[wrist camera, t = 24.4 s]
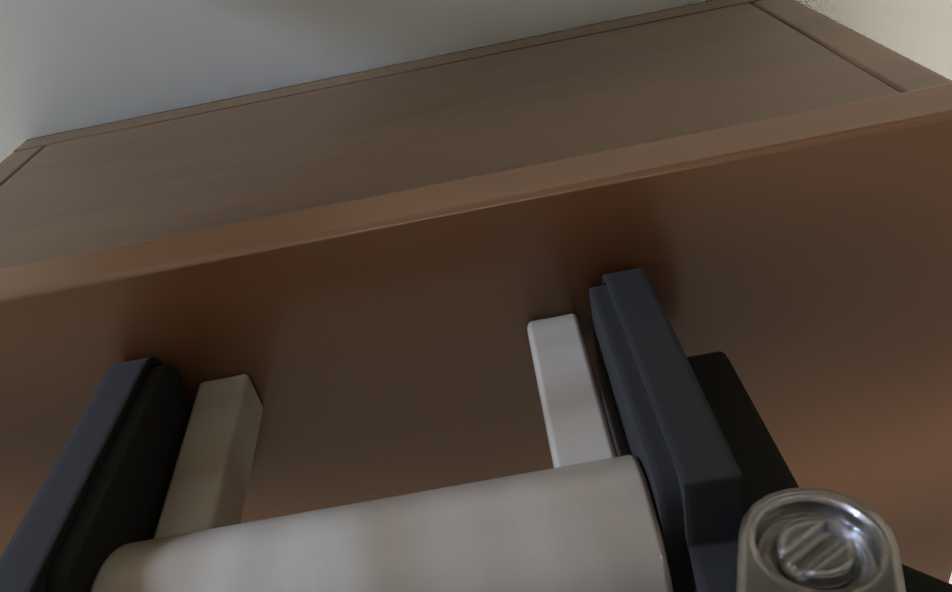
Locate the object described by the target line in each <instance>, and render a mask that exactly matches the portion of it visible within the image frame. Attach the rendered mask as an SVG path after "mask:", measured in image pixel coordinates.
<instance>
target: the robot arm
mask: <svg viewBox="0 0 952 592" xmlns="http://www.w3.org/2000/svg"><path fill="white" fill-rule="evenodd" d="M602 283H603V286H598V287H592V288H589V296H590V305H591V312H592V320H593V328H594V336H595V344H596V352H597V359H598V367H599V375H600V383H601V391H602V399H603V406H604V410H605V413H606V417H607V420H608V424H609V427H610V431H611V434H612V438H613V442H614V445H615V449H616V452H617V456H618V457H619V456H624V455H632V456H635V457H636V458H637V460H638V462H639V463H640V465H641V467H642V469H643V471H644V473H645V476H646V479H647V482H648V485H649V488H650V491H651V494H652V497H653V501H654V504H655V508H656V512H657V516H658V519H659V523H660V528H661V532H662V536H663V540H664V545H665V549H666V554H667V559H668V564H669V569H670V574H671V580H672V586H673V592H952V585H951V584H949V583H947V582H944V581H942V580H939V579H937V578H935V577H932V576H930V575H927V574H925V573H923V572H920V571H918V570H915V569H913V568H911V567H908V566H906V565H903V564H902V563H901V557H900V551H899V547H898V545H897V542H896V539H895V537H894V534H893V531H892V530H891V529H890V527H889V526H888V525H887V524H886V523H885V521H884V520H883V519H882V518H881V517H880V516H879V514H877V513H876V512H875V511H873V510H872V509H870V508H869V507H867V506H866V505H865V504H863V503H862V502H860V501H859V500H856V499H854V498H851V497H849V496H846V495H844V494H841V493H839V492H836V491H830V490H825V489H819V488H814V487H809V488H799V486H798V484H797V482H796V480H795V479H794V477H793V475H792V473H791V471H790V470H789V468H788V466H787V464H786V462H785V460H784V459H783V457H782V455H781V453H780V451H779V449H778V448H777V446H776V444H775V442H774V440H773V439H772V437H771V435H770V433H769V431H768V429H767V428H766V426H765V424H764V422H763V420H762V418H761V417H760V415H759V413H758V411H757V409H756V408H755V406H754V404H753V402H752V400H751V398H750V397H749V395H748V393H747V391H746V389H745V387H744V386H743V384H742V382H741V380H740V378H739V377H738V375H737V373H736V371H735V369H734V367H733V366H732V364H731V362H730V360H729V359H728V357H727V356H726V354H725V353H723V352H721V351H719V352H713V353H707V354H702V355H696V356H690V357H686V355H685V353H684V351H683V349H682V346H681V344H680V342H679V340H678V338H677V336H676V334H675V332H674V330H673V327H672V325H671V323H670V321H669V319H668V317H667V315H666V313H665V311H664V308H663V306H662V304H661V302H660V300H659V298H658V296H657V294H656V292H655V289H654V287H653V285H652V283H651V281H650V279H649V277H648V275H647V273H646V271H645V269H644V268H638V269H632V270H627V271H621V272H616V273H610V274H605V275H603V277H602ZM192 409H193V404H192V401H191V399H190V397H189V395H188V393H187V390H186V388H185V386H184V384H183V382H182V380H181V377H180V375H179V373H178V371H177V370H176V368H175V367H174V366H173V365H170V364H168V365H163V363H162V362H161V361H160V360H159V359H158V358H156V357H149V358H144V359H138V360H133V361H127V362H122V363H116V364H113V365H111V366H110V368H109V369H108V370H107V372H106V374H105V375H104V377H103V379H102V381H101V382H100V384H99V386H98V388H97V389H96V391H95V393H94V395H93V396H92V398H91V400H90V402H89V404H88V405H87V407H86V409H85V411H84V412H83V414H82V416H81V418H80V419H79V421H78V423H77V425H76V426H75V428H74V430H73V432H72V433H71V435H70V437H69V439H68V440H67V442H66V444H65V446H64V447H63V449H62V451H61V453H60V454H59V456H58V458H57V460H56V461H55V463H54V465H53V467H52V468H51V470H50V472H49V474H48V475H47V477H46V479H45V481H44V482H43V484H42V486H41V488H40V489H39V491H38V493H37V495H36V496H35V498H34V500H33V502H32V503H31V505H30V507H29V509H28V511H27V512H26V514H25V516H24V518H23V519H22V521H21V523H20V525H19V526H18V528H17V530H16V532H15V533H14V535H13V537H12V539H11V540H10V542H9V544H8V546H7V547H6V549H5V551H4V553H3V554H2V556H1V558H0V592H90V591H91V588H92V585H93V582H94V580H95V577H96V575H97V573H98V571H99V569H100V567H101V565H102V564H103V562H104V561H105V559H106V558H107V557H108V556H109V555H110V554H111V553H112V552H114V551H115V550H116V549H118V548H119V547H121V546H123V545H125V544H127V543H133V542H139V541H144V540H150V539H154V535H155V532H156V529H157V525H158V522H159V519H160V515H161V512H162V509H163V505H164V502H165V499H166V495H167V492H168V489H169V485H170V482H171V479H172V475H173V472H174V469H175V465H176V462H177V459H178V455H179V452H180V449H181V445H182V442H183V439H184V435H185V432H186V429H187V425H188V422H189V419H190V415H191V412H192Z"/></svg>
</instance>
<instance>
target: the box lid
mask: <svg viewBox="0 0 952 592" xmlns="http://www.w3.org/2000/svg"><path fill="white" fill-rule="evenodd" d="M638 268H644V269H645V271H646V273H647V275H648V277H649V279H650V281H651V283H652V285H653V287H654V289H655V292H656V294H657V296H658V298H659V300H660V302H661V304H662V306H663V308H664V311H665V313H666V315H667V317H668V319H669V321H670V323H671V325H672V327H673V330H674V332H675V334H676V336H677V338H678V340H679V342H680V344H681V346H682V349H683V351H684V353H685V355H686V357H690V356H696V355H702V354H707V353H713V352H719V351H721V352H723V353H725V354H726V356H727V357H728V359H729V360H730V362H731V364H732V366H733V367H734V369H735V371H736V373H737V375H738V377H739V378H740V380H741V382H742V384H743V386H744V387H745V389H746V391H747V393H748V395H749V397H750V398H751V400H752V402H753V404H754V406H755V408H756V409H757V411H758V413H759V415H760V417H761V418H762V420H763V422H764V424H765V426H766V428H767V429H768V431H769V433H770V435H771V437H772V439H773V440H774V442H775V444H776V446H777V448H778V449H779V451H780V453H781V455H782V457H783V459H784V460H785V462H786V464H787V466H788V468H789V470H790V471H791V473H792V475H793V477H794V479H795V480H796V482H797V484H798V486H799V488H809V487H814V488H819V489H825V490H830V491H836V492H839V493H841V494H844V495H846V496H849V497H851V498H854V499H856V500H859V501H860V502H862V503H863V504H865V505H866V506H867V507H869V508H870V509H872V510H873V511H875V512H876V513H877V514H879V516H880V517H881V518H882V519H883V520H884V521H885V523H886V524H887V525H888V526H889V527H890V529H891V530H892V531H893V534H894V537H895V539H896V542H897V545H898V547H899V551H900V557H901V563H902V564H903V565H906V566H908V567H911V568H913V569H915V570H918V571H920V572H923V573H925V574H927V575H930V576H932V577H935V578H937V579H939V580H942V581H944V582H947V583H948V582H949V579H950V575H951V572H952V83H949V84H944V85H939V86H934V87H928V88H923V89H918V90H913V91H908V92H903V93H898V94H893V95H888V96H882V97H877V98H872V99H867V100H862V101H857V102H852V103H847V104H842V105H837V106H831V107H826V108H821V109H816V110H811V111H806V112H801V113H796V114H791V115H785V116H780V117H775V118H770V119H765V120H760V121H755V122H750V123H745V124H739V125H734V126H729V127H724V128H719V129H714V130H709V131H704V132H699V133H694V134H688V135H683V136H678V137H673V138H668V139H663V140H658V141H653V142H648V143H642V144H637V145H632V146H627V147H622V148H617V149H612V150H607V151H602V152H596V153H591V154H586V155H581V156H576V157H571V158H566V159H561V160H556V161H551V162H545V163H540V164H535V165H530V166H525V167H520V168H515V169H510V170H505V171H499V172H494V173H489V174H484V175H479V176H474V177H469V178H464V179H459V180H453V181H448V182H443V183H438V184H433V185H428V186H423V187H418V188H413V189H408V190H402V191H397V192H392V193H387V194H382V195H377V196H372V197H367V198H362V199H356V200H351V201H346V202H341V203H336V204H331V205H326V206H321V207H316V208H310V209H305V210H300V211H295V212H290V213H285V214H280V215H275V216H270V217H265V218H259V219H254V220H249V221H244V222H239V223H234V224H229V225H224V226H219V227H213V228H208V229H203V230H198V231H193V232H188V233H183V234H178V235H173V236H167V237H162V238H157V239H152V240H147V241H142V242H137V243H132V244H127V245H122V246H116V247H111V248H106V249H101V250H96V251H91V252H86V253H81V254H76V255H70V256H65V257H60V258H55V259H50V260H45V261H40V262H35V263H30V264H24V265H19V266H14V267H9V268H4V269H0V558H1V556H2V554H3V553H4V551H5V549H6V547H7V546H8V544H9V542H10V540H11V539H12V537H13V535H14V533H15V532H16V530H17V528H18V526H19V525H20V523H21V521H22V519H23V518H24V516H25V514H26V512H27V511H28V509H29V507H30V505H31V503H32V502H33V500H34V498H35V496H36V495H37V493H38V491H39V489H40V488H41V486H42V484H43V482H44V481H45V479H46V477H47V475H48V474H49V472H50V470H51V468H52V467H53V465H54V463H55V461H56V460H57V458H58V456H59V454H60V453H61V451H62V449H63V447H64V446H65V444H66V442H67V440H68V439H69V437H70V435H71V433H72V432H73V430H74V428H75V426H76V425H77V423H78V421H79V419H80V418H81V416H82V414H83V412H84V411H85V409H86V407H87V405H88V404H89V402H90V400H91V398H92V396H93V395H94V393H95V391H96V389H97V388H98V386H99V384H100V382H101V381H102V379H103V377H104V375H105V374H106V372H107V370H108V369H109V368H110V366H111V365H113V364H116V363H122V362H127V361H133V360H138V359H144V358H149V357H156V358H158V359H159V360H160V361H161V362H162V363H163V365H168V364H170V365H173V366H174V367H175V368H176V370H177V371H178V373H179V375H180V377H181V380H182V382H183V384H184V386H185V388H186V390H187V393H188V395H189V397H190V399H191V401H192V404H193V409H192V412H191V415H190V419H189V422H188V425H187V429H186V432H185V435H184V439H183V442H182V445H181V449H180V452H179V455H178V459H177V462H176V465H175V469H174V472H173V475H172V479H171V482H170V485H169V489H168V492H167V495H166V499H165V502H164V505H163V509H162V512H161V515H160V519H159V522H158V525H157V529H156V532H155V535H154V539H150V540H144V541H139V542H133V543H127V544H125V545H123V546H121V547H119V548H118V549H116V550H115V551H114V552H112V553H111V554H110V555H109V556H108V557H107V558H106V559H105V561H104V562H103V564H102V565H101V567H100V569H99V571H98V573H97V575H96V577H95V580H94V582H93V585H92V588H91V591H90V592H673V586H672V580H671V574H670V569H669V564H668V559H667V554H666V549H665V545H664V540H663V536H662V532H661V528H660V523H659V519H658V516H657V512H656V508H655V504H654V501H653V497H652V494H651V491H650V488H649V485H648V482H647V479H646V476H645V473H644V471H643V469H642V467H641V465H640V463H639V462H638V460H637V458H636V457H635V456H632V455H624V456H619V457H618V456H617V452H616V449H615V445H614V442H613V438H612V434H611V431H610V427H609V424H608V420H607V417H606V413H605V410H604V406H603V399H602V391H601V383H600V375H599V367H598V359H597V352H596V344H595V336H594V328H593V320H592V312H591V305H590V296H589V288H592V287H598V286H603V283H602V277H603V275H605V274H610V273H616V272H621V271H627V270H632V269H638Z"/></svg>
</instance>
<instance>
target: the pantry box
mask: <svg viewBox="0 0 952 592" xmlns="http://www.w3.org/2000/svg"><path fill="white" fill-rule="evenodd" d="M949 83H952V81H951V80H949V79H947V78H945V77H943V76H941V75H940V74H938V73H936V72H934V71H932V70H930V69H928V68H926V67H924V66H922V65H920V64H918V63H916V62H914V61H912V60H910V59H908V58H906V57H904V56H902V55H901V54H899V53H897V52H895V51H893V50H891V49H889V48H887V47H885V46H883V45H881V44H879V43H877V42H875V41H873V40H871V39H869V38H867V37H865V36H863V35H862V34H860V33H858V32H856V31H854V30H852V29H850V28H848V27H846V26H844V25H842V24H840V23H838V22H836V21H834V20H832V19H830V18H828V17H826V16H824V15H823V14H821V13H819V12H817V11H815V10H813V9H811V8H809V7H807V6H805V5H803V4H801V3H799V2H797V1H795V0H712V1H707V2H702V3H697V4H692V5H687V6H682V7H677V8H672V9H667V10H662V11H658V12H653V13H648V14H643V15H638V16H633V17H628V18H623V19H618V20H613V21H608V22H604V23H599V24H594V25H589V26H584V27H579V28H574V29H569V30H564V31H559V32H554V33H550V34H545V35H540V36H535V37H530V38H525V39H520V40H515V41H510V42H505V43H500V44H496V45H491V46H486V47H481V48H476V49H471V50H466V51H461V52H456V53H451V54H446V55H441V56H437V57H432V58H427V59H422V60H417V61H412V62H407V63H402V64H397V65H392V66H387V67H383V68H378V69H373V70H368V71H363V72H358V73H353V74H348V75H343V76H338V77H333V78H329V79H324V80H319V81H314V82H309V83H304V84H299V85H294V86H289V87H284V88H279V89H275V90H270V91H265V92H260V93H255V94H250V95H245V96H240V97H235V98H230V99H225V100H220V101H216V102H211V103H206V104H201V105H196V106H191V107H186V108H181V109H176V110H171V111H166V112H162V113H157V114H152V115H147V116H142V117H137V118H132V119H127V120H122V121H117V122H112V123H108V124H103V125H98V126H93V127H88V128H83V129H78V130H73V131H68V132H63V133H58V134H54V135H49V136H44V137H39V138H34V139H29V140H27V141H26V142H24V143H23V144H22V145H21V146H19V147H18V148H17V149H16V150H15V151H14V153H12V154H11V155H10V156H9V157H7V158H6V159H5V160H4V161H3V162H1V163H0V269H4V268H9V267H14V266H19V265H24V264H30V263H35V262H40V261H45V260H50V259H55V258H60V257H65V256H70V255H76V254H81V253H86V252H91V251H96V250H101V249H106V248H111V247H116V246H122V245H127V244H132V243H137V242H142V241H147V240H152V239H157V238H162V237H167V236H173V235H178V234H183V233H188V232H193V231H198V230H203V229H208V228H213V227H219V226H224V225H229V224H234V223H239V222H244V221H249V220H254V219H259V218H265V217H270V216H275V215H280V214H285V213H290V212H295V211H300V210H305V209H310V208H316V207H321V206H326V205H331V204H336V203H341V202H346V201H351V200H356V199H362V198H367V197H372V196H377V195H382V194H387V193H392V192H397V191H402V190H408V189H413V188H418V187H423V186H428V185H433V184H438V183H443V182H448V181H453V180H459V179H464V178H469V177H474V176H479V175H484V174H489V173H494V172H499V171H505V170H510V169H515V168H520V167H525V166H530V165H535V164H540V163H545V162H551V161H556V160H561V159H566V158H571V157H576V156H581V155H586V154H591V153H596V152H602V151H607V150H612V149H617V148H622V147H627V146H632V145H637V144H642V143H648V142H653V141H658V140H663V139H668V138H673V137H678V136H683V135H688V134H694V133H699V132H704V131H709V130H714V129H719V128H724V127H729V126H734V125H739V124H745V123H750V122H755V121H760V120H765V119H770V118H775V117H780V116H785V115H791V114H796V113H801V112H806V111H811V110H816V109H821V108H826V107H831V106H837V105H842V104H847V103H852V102H857V101H862V100H867V99H872V98H877V97H882V96H888V95H893V94H898V93H903V92H908V91H913V90H918V89H923V88H928V87H934V86H939V85H944V84H949Z"/></svg>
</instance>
